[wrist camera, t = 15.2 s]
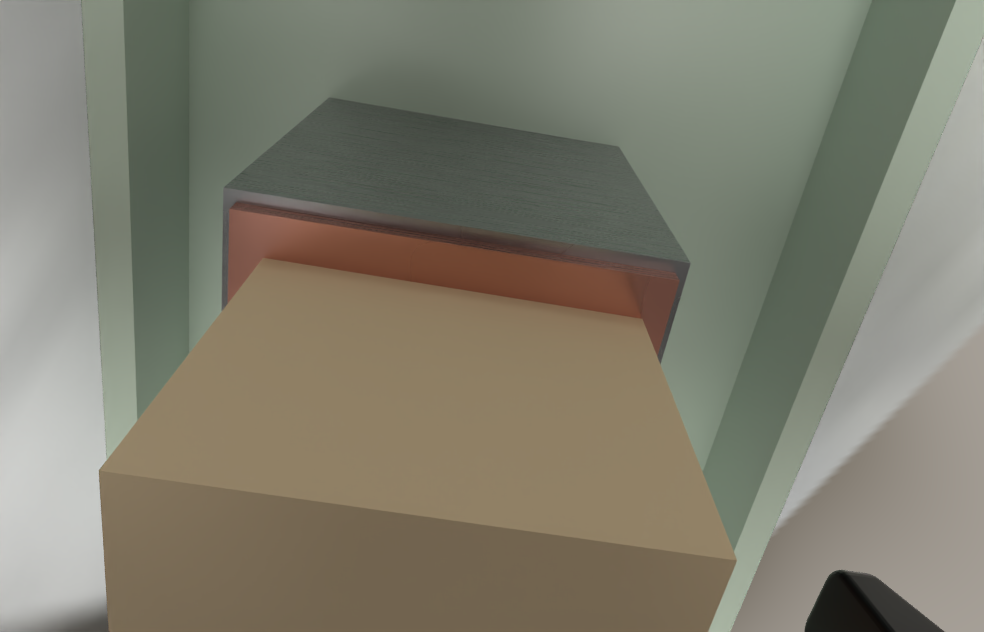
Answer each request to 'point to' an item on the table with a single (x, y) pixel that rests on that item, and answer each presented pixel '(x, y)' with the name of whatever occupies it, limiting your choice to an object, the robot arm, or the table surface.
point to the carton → (410, 471)
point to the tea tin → (456, 212)
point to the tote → (565, 113)
